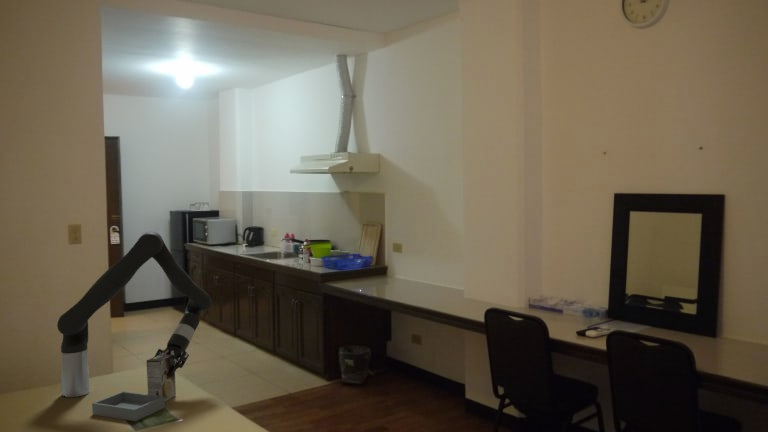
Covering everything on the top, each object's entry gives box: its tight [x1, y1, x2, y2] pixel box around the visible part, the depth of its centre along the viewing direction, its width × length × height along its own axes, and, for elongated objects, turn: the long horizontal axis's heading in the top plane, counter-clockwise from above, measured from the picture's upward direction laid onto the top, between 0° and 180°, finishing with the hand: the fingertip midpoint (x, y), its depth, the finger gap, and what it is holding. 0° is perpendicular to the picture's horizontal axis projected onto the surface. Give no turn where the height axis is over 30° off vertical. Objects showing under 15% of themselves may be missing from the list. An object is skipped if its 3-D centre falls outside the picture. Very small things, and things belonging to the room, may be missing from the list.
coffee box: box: [146, 354, 177, 403], centre depth 230 cm, size 9×6×16 cm
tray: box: [91, 390, 166, 422], centre depth 218 cm, size 20×14×4 cm
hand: (160, 375), depth 230 cm, fingers closed on coffee box, 7 cm apart
